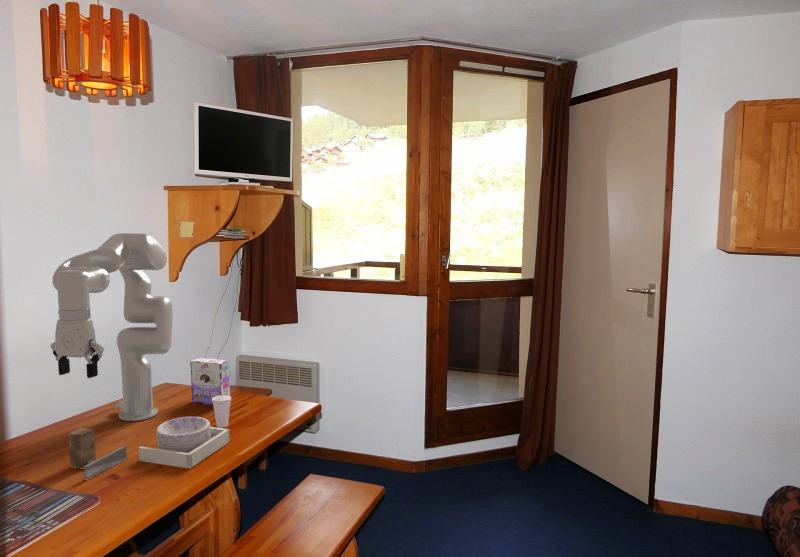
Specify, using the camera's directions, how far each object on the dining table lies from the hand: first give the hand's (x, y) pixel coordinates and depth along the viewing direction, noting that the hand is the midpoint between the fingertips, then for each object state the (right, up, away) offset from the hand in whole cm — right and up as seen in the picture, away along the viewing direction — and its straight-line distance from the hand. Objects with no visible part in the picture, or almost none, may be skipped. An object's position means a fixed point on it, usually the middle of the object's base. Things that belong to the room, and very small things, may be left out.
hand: (78, 375), depth 157 cm
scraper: (+3, -26, +2) cm, 26 cm away
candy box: (+18, -20, +58) cm, 64 cm away
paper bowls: (+24, -25, +14) cm, 38 cm away
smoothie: (+30, -23, +34) cm, 50 cm away
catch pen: (+25, -25, +13) cm, 38 cm away
